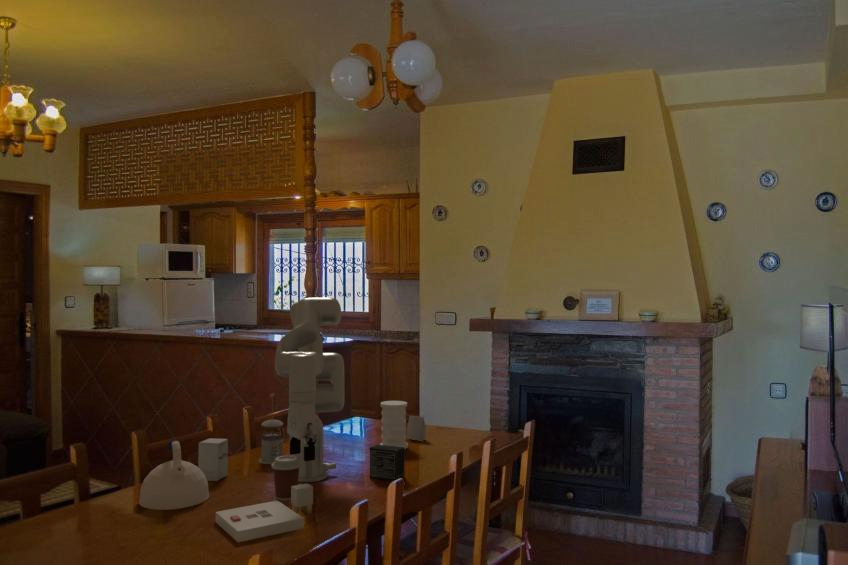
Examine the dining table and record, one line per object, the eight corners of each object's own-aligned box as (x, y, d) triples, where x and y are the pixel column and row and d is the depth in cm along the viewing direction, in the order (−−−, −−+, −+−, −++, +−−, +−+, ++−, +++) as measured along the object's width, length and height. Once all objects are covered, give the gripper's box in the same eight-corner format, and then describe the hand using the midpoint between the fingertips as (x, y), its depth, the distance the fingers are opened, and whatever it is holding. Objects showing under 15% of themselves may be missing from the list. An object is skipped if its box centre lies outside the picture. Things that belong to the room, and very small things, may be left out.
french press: (253, 462, 251) (253, 394, 252) (271, 455, 262) (271, 390, 262) (275, 465, 248) (275, 396, 248) (293, 457, 258) (293, 391, 259)
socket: (277, 510, 198) (277, 498, 198) (303, 528, 183) (303, 515, 183) (215, 522, 188) (215, 509, 188) (237, 542, 173) (237, 529, 173)
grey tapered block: (421, 441, 286) (421, 418, 286) (407, 440, 289) (407, 416, 289) (425, 440, 289) (425, 416, 289) (411, 438, 292) (411, 415, 292)
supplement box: (217, 481, 227) (217, 443, 227) (197, 480, 228) (197, 442, 228) (228, 475, 234) (228, 438, 234) (208, 474, 236) (208, 437, 236)
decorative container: (413, 446, 277) (413, 402, 277) (397, 452, 267) (397, 406, 268) (390, 442, 283) (390, 399, 284) (373, 448, 274) (373, 403, 274)
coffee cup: (286, 503, 204) (287, 463, 204) (264, 498, 208) (265, 459, 209) (307, 495, 211) (307, 457, 211) (285, 491, 216) (285, 453, 216)
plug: (306, 508, 199) (306, 483, 199) (313, 513, 195) (313, 487, 195) (289, 512, 196) (289, 486, 196) (296, 516, 192) (296, 490, 192)
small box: (405, 477, 232) (405, 446, 232) (396, 482, 226) (396, 450, 227) (378, 473, 237) (378, 443, 237) (369, 478, 231) (369, 447, 231)
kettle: (142, 515, 194) (142, 451, 194) (135, 495, 212) (136, 437, 212) (215, 504, 203) (215, 444, 203) (203, 486, 221) (203, 430, 222)
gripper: (278, 394, 201) (278, 453, 200) (302, 402, 186) (302, 465, 186) (301, 392, 205) (301, 450, 205) (327, 399, 191) (327, 461, 190)
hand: (302, 457), depth 195 cm, fingers open, 9 cm apart
